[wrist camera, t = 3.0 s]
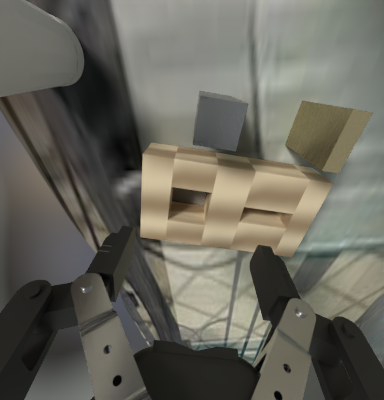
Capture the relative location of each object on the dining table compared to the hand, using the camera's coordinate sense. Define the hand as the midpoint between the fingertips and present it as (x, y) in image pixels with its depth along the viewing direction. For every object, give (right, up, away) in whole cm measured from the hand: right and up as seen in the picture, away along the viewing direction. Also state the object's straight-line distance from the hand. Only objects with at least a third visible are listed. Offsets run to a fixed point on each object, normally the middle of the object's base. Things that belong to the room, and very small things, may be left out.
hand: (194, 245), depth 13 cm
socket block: (+5, +4, +17) cm, 18 cm away
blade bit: (+13, +12, +12) cm, 21 cm away
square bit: (+2, +14, +11) cm, 18 cm away
